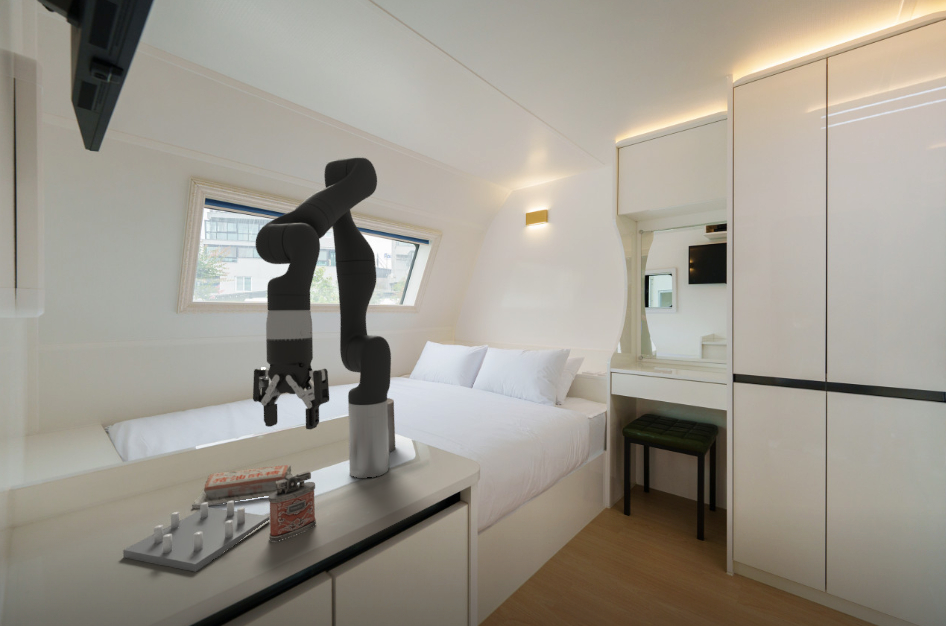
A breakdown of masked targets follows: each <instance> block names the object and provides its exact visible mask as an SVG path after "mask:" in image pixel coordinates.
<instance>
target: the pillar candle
mask: <svg viewBox="0 0 946 626" xmlns="http://www.w3.org/2000/svg"><path fill="white" fill-rule="evenodd" d="M394 403H395V402H394V399H393V398H390V397H387V414H388V430H389V453H391V452H393V451H394V450H395V448H396V428H395V404H394Z"/></svg>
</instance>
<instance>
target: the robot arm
mask: <svg viewBox="0 0 946 626" xmlns="http://www.w3.org/2000/svg"><path fill="white" fill-rule="evenodd" d="M324 185H325V188H321V190H318V191H316V192H314V193H312V194H310V195H309V196H308V197H307V198H305V199H304V200H303V201H302V202H301V203H299V205H297V206H296V208H294V209H293V210H292V211H289V212H286V213H284V214H283V215H280V216H278V217H276V218H274V219H273V220H270V221H269V222H267V223H266V224H265V225H263V226H262V227H261V229H260V230H258V233H257V235H256V238H255V244H254V245H255V249H256V252H257V254H258V256H259V258H261V260H263V261H265V262H266V263H269V264H273V265H288V267H287V270H286V272H285V273H284V274H282V275H280V276H276V277H273V278H271V279H270V280H269V281H268V282H267V290H266V291H267V297H266V299H267V300H266V301H267V302H266V303H267V314H266V315H267V317H266V323H265V326H266V327H265V330H266V331H265V333H266V335H265V336H266V337H265V338H266V339H265V340H266V363H267V364H268V365H269V367H268V366H265V367H264V366H263V367H259V368H258V367H257V368H254V370H253V386H252V388H253V390H252V392H253V393H252V400H253V401H254V402H255V403H256V402H259V403H260V405H262V406H263V422H264V424H265V427H269V428H270V427H271V428H272V427H273V426H277V424H278V403H276V402H277V401H278V399H279V398H280V396H281V395H283V394H289V395H296V397H297V398H298V399H300V400H302V402H303V403H304V405H305V406H306V408H305V429H306V430H310V431H311V430H313V429H315V428H317V426H318V425H319V423H320V406H321V405H323V404H326V403H328V402H329V401H330V387H329V373H328V369H327V368H320V369H315V370H314V369H312V365H311V364H312V361H313V358H314V354H313V353H314V351H313V349H314V348H313V321H312V320H313V319H312V313H311V288H312V287H311V286H312V283H313V280H314V275H315V272H316V268H317V264H318V262H319V261H318V260H319V257H320V252H321V243H320V239H322V238H323V237H324V236H325V234H327V233H328V232H329V231H330V229H331V228H332V234H333V243H334V259H335V269H336V279H337V286H338V288H337V289H338V297H339V298H338V300H339V302H338V303H339V314H340V317H339V319H340V321H339V322H340V326H339V327H340V328H339V329H340V331H339V336H340V337H339V338H340V339H339V341H340V342H339V344H340V345H339V351H340V359H341V362H342V365H343V366H344V367H345V369H346V370H348V371H350V372H353V373H360V374H359V383H358V385H357V386H355V387H352V388H351V389H350V390H348V395H347V402H348V407H347V409H348V446H349V447H348V452H349V455H348V456H349V457H348V459H349V460H348V461H349V463H348V464H349V475H350V476H351V477H353V476H354V477H353V478H356V477H357V478H356V479H368V478H367V477H372V478H376V476H377V477H379V476H382V475H385V474H386V473H387V472H388V471H389V466H390V452H389V430H388V414H387V398H388V393H389V390H390V387H391V370H392V369H391V367H392V353H391V348H390V345H389V342H388V341H387V339H386V338H384V337H383V336H380V335H369V334H368V332H367V331H368V330H367V313H368V312H367V311H368V307H369V305H370V302H371V299H372V296H373V295H374V292H375V287H376V285H377V266H376V265H377V264H376V258H375V252H374V250H373V248H372V246H371V245H370V243H369V242H368V241H367V239H366V238H365V236H364V235H363V234H362V232H361V231H360V229H359V228H358V227H357V225H356V223H355V221H354V220H353V216H352V213H351V210H352V209H353V208H354V207H355V206H357V205H358V204H359V203H361V202H362V201H365V200H366V199H368V198H369V197H371V196H372V195H373V194H374V193H375V191H376V190H377V185H378V176H377V172H376V169H375V167H374V164H373V163H372V162H371V161H370V160H369V159H368V158H367V157H363V156H353V157H348V158H347V157H346V158H340V159H339V158H338V159H333V160H330V161H328V162H326V165H325V168H324ZM270 381H271V382H270Z"/></svg>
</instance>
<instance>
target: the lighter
mask: <svg viewBox="0 0 946 626" xmlns="http://www.w3.org/2000/svg"><path fill="white" fill-rule="evenodd" d="M292 475H293V474H292ZM292 475H287V476H286V477H285V479H283V480H279V481H276V490H277V492H274V493H272V494H270V495H269V498H268V502H269V516H270V523H269V525H270V526H269V527H270V528H269V529H270V532H269V535H268V536H269V539H270V540H271V541H279V540H282V539H285V538H288V537H291V536H293V535H296V534H299V533H301V534H302V532H303V533H305V532H307V531H309V530H311V529H312V528H311V527H313V526H314V527H316V525H317V519H316V516H315V515H316V512H315V489H316V482H314V481H308V480H311V479H312V472H311V471H310V470H306V471H303V472H299V473H297V474H295V475H293V476H292ZM305 481H307V482H305ZM298 483H299V484H298ZM315 524H316V525H315ZM314 527H313V528H314ZM310 528H311V529H310ZM308 529H309V530H308ZM306 530H307V531H306ZM304 531H305V532H304ZM299 535H300V534H299ZM296 536H297V535H296ZM293 537H294V536H293ZM291 538H292V537H291ZM269 539H268V540H269ZM288 539H289V538H288ZM270 540H269V541H270ZM285 540H286V539H285ZM271 541H270V542H271ZM282 541H283V540H282ZM279 542H280V541H279Z"/></svg>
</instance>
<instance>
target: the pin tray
mask: <svg viewBox="0 0 946 626" xmlns="http://www.w3.org/2000/svg"><path fill="white" fill-rule="evenodd" d="M245 508H246V507H239V508H237V509H236V510H235V503H234V501H228V502H227V504H226V509H223V508H216V507H211V506H208V502H204V503H201V504H200V508H199V509H200V510H198V511H196V512H193V513H192V514H190V515H188V516H186V517H185V518H181V519H180V511H175V512H172V513H171V514H170V525H169V526H166V527H165V528H164V525H163V524H159V525H156V526H154V527H153V534H152V535H149V536H147V537H145V538H143V539H142V540H140V541H138V542H136V543H134V544H132V545H130V546H129V547H126V548H124V549H123V550H122V553H123V556H122V557H123V558H125V559H128V560H129V559H130V560H136V561H141V562H145V563H150V564H155V565H161V566H165V567H170V568H174V569H180V570H184V571H189V572H195V573H196V572H198V571H199V570H201V569H202V568H204V567H205V566H207V565H208V564H210V563H211V562H213V561H214V560H216V559H217V558H219V557H220V556H222V555H223V554H224V553H223V552H224V551H226V550H227V549H229V548H231V547H232V546H234V545H235V544H236V543H238V542H239V541H240V540H241V539H243V538H244V537H245V536H246V535H248V534H249V533H251V532H252V531H253V530H255V529H256V528H258V527H259V526H260V525H262V524H263V523H265V522H266V521H268V520H270V515H264V514H257V513H251V512H245V511H246V509H245ZM238 544H239V543H238ZM235 546H236V545H235ZM235 546H234V547H235ZM232 548H233V547H232ZM232 548H231V549H232ZM229 550H230V549H229ZM226 552H227V551H226ZM222 553H223V554H222ZM221 554H222V555H221ZM218 556H219V557H218ZM215 558H216V559H215ZM213 559H214V560H213ZM212 560H213V561H212Z"/></svg>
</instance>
